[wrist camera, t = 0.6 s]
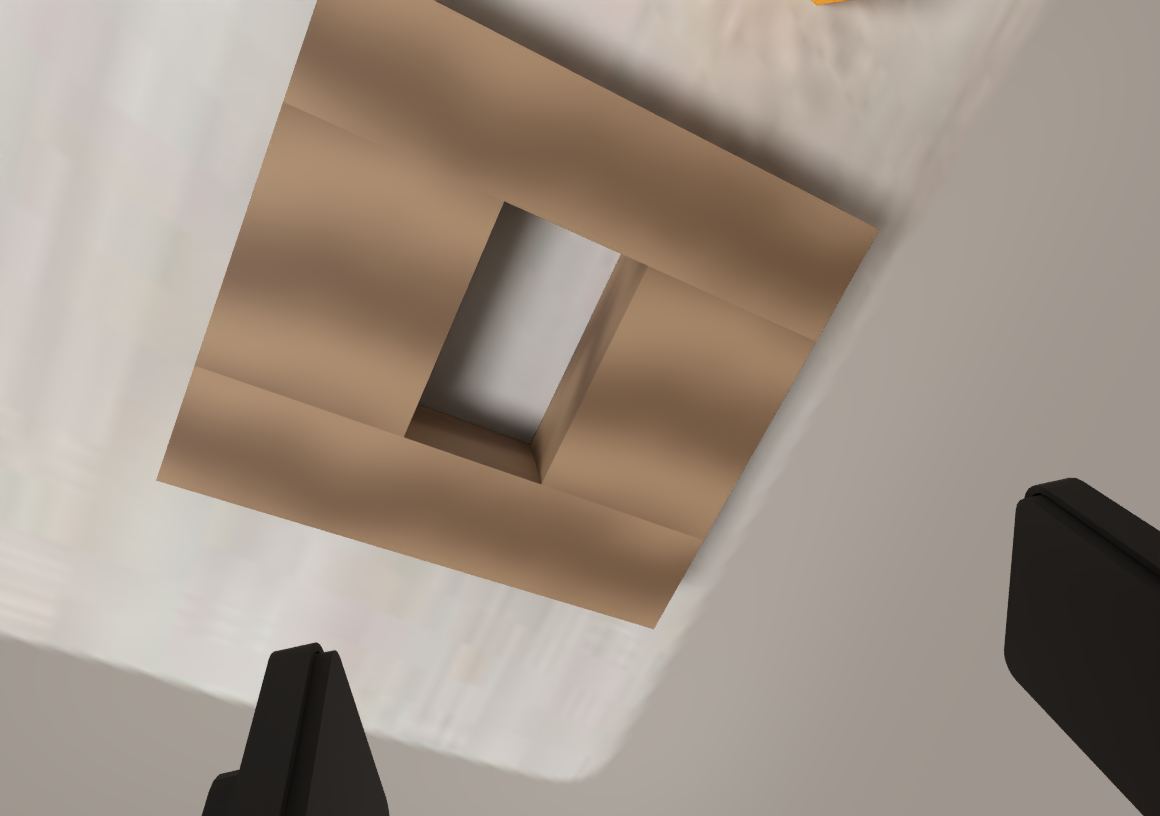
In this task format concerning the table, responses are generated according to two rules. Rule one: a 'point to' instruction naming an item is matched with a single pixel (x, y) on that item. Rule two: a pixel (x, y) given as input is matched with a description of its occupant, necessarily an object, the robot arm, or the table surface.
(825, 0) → the orange curved block
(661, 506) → the cutout shelf
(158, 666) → the table surface
